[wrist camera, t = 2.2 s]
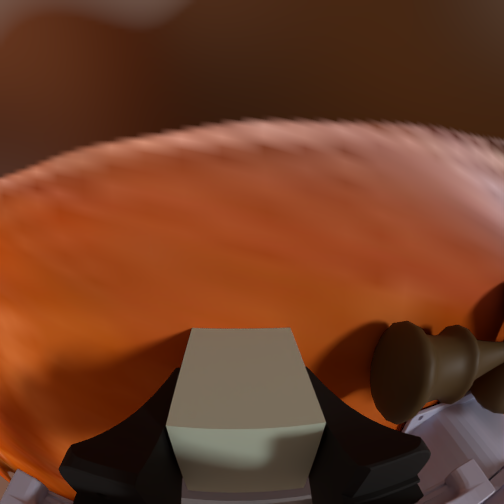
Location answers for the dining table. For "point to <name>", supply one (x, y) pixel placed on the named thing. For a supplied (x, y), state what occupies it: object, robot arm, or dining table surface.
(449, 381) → the kendama
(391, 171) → the dining table surface
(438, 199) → the dining table surface
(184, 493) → the tray
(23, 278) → the dining table surface
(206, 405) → the beige block
